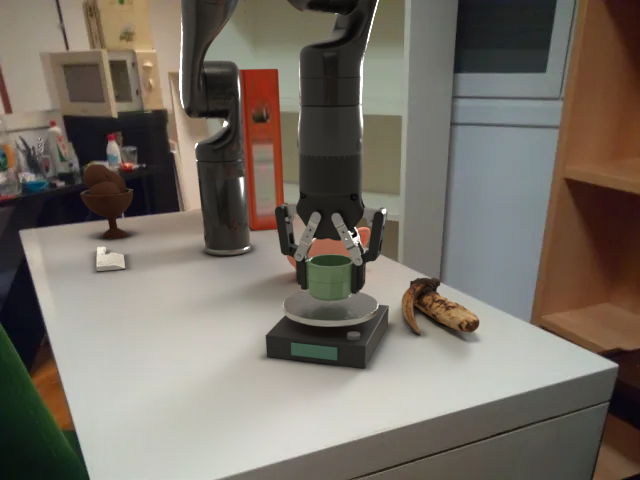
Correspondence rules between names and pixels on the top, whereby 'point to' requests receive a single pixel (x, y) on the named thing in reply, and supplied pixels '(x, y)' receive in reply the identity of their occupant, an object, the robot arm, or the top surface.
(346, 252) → the teapot
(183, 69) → the robot arm
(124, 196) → the ice cream bowl
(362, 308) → the scale pan
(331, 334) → the scale
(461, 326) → the partly peeled banana
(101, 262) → the white slab with peg
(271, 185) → the file binder
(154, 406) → the top surface
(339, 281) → the green cup
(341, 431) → the top surface
